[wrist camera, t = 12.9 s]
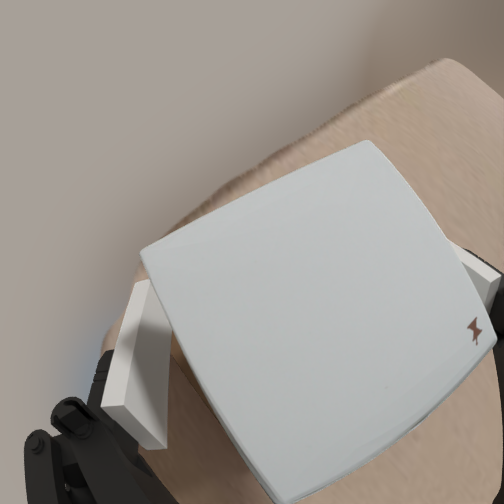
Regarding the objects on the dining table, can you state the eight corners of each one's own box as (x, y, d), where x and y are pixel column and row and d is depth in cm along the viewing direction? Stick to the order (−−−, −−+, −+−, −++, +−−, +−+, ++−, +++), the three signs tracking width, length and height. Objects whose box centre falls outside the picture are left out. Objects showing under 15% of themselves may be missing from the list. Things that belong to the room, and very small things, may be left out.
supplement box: (310, 259, 19) (374, 130, 7) (365, 352, 17) (507, 342, 5) (213, 311, 18) (129, 243, 6) (268, 410, 16) (281, 518, 4)
